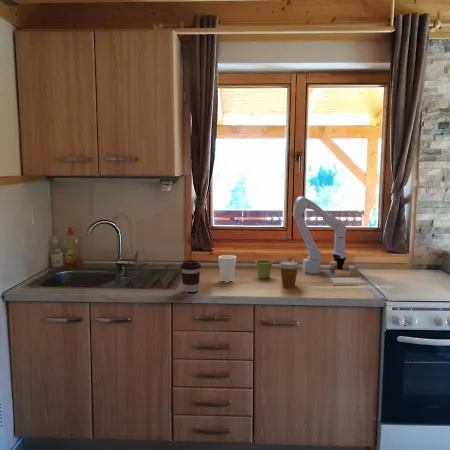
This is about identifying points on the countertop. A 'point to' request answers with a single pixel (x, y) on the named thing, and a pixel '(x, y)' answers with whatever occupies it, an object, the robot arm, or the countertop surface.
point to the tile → (341, 272)
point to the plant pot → (263, 268)
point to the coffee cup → (190, 275)
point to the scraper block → (334, 267)
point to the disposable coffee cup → (288, 273)
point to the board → (344, 278)
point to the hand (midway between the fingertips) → (338, 268)
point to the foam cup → (227, 267)
